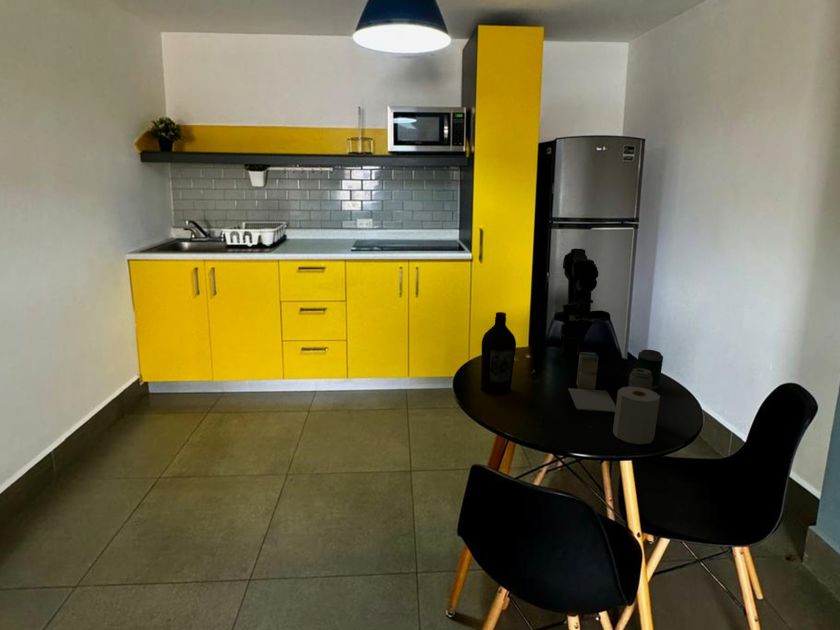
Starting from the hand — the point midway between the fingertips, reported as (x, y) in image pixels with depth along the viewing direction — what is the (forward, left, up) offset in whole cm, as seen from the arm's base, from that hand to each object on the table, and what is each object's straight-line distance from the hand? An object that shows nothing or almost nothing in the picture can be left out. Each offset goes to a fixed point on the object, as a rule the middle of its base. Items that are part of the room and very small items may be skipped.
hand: (580, 341), depth 194 cm
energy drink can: (+26, +26, -12) cm, 39 cm away
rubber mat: (+19, +12, -12) cm, 25 cm away
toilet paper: (+36, +28, -12) cm, 47 cm away
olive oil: (+30, -16, -12) cm, 36 cm away
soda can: (-4, +22, -12) cm, 26 cm away
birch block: (+9, +6, -12) cm, 16 cm away
